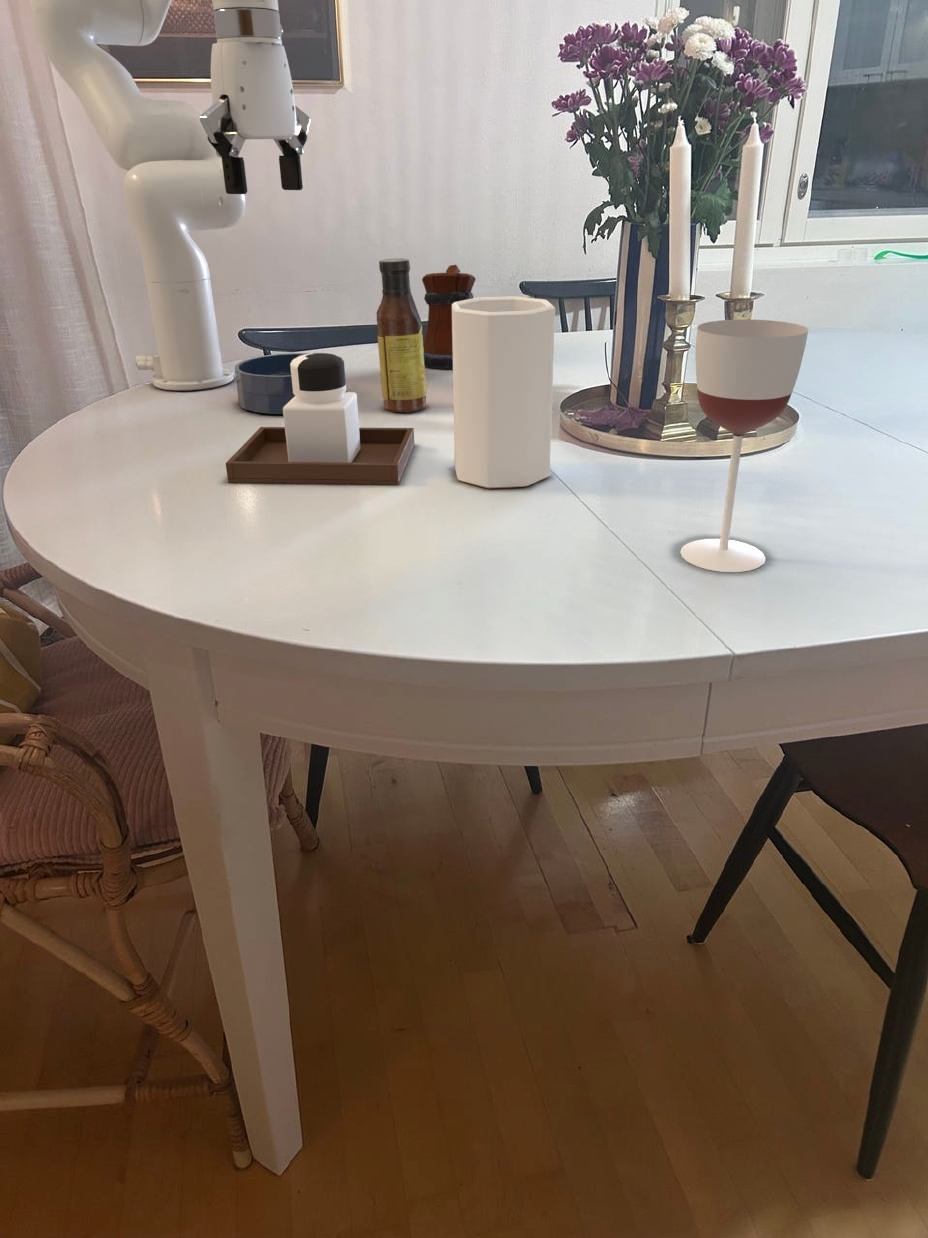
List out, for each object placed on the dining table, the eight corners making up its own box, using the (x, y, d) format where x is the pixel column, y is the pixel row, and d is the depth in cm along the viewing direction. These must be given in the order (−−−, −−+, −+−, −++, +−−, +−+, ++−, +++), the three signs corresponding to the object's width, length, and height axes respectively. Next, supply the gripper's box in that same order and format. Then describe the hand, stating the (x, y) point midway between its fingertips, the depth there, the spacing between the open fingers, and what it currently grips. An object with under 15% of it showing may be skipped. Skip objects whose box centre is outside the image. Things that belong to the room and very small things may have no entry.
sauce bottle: (435, 407, 129) (431, 258, 120) (404, 416, 125) (396, 263, 116) (404, 400, 133) (397, 255, 124) (372, 408, 129) (363, 259, 120)
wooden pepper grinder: (424, 347, 166) (421, 260, 159) (486, 347, 165) (486, 260, 158) (413, 370, 150) (409, 274, 143) (482, 369, 149) (482, 273, 142)
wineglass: (663, 539, 86) (684, 321, 76) (753, 535, 86) (785, 318, 77) (689, 575, 79) (715, 339, 69) (786, 570, 79) (825, 335, 70)
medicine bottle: (361, 450, 110) (354, 349, 104) (348, 469, 104) (340, 363, 98) (304, 449, 111) (294, 349, 105) (288, 467, 104) (276, 362, 99)
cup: (482, 496, 97) (481, 316, 88) (436, 467, 105) (431, 301, 97) (569, 479, 101) (577, 306, 92) (518, 452, 110) (521, 292, 101)
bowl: (226, 415, 127) (220, 376, 124) (256, 389, 140) (251, 352, 138) (332, 416, 126) (329, 376, 123) (352, 389, 139) (350, 353, 136)
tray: (228, 482, 102) (225, 463, 101) (262, 444, 114) (260, 426, 113) (398, 484, 100) (397, 464, 99) (414, 445, 113) (413, 427, 112)
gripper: (277, 38, 114) (291, 187, 122) (168, 27, 102) (192, 194, 110) (322, 34, 111) (333, 188, 119) (214, 22, 98) (235, 196, 106)
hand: (265, 191), depth 114 cm, fingers open, 9 cm apart
